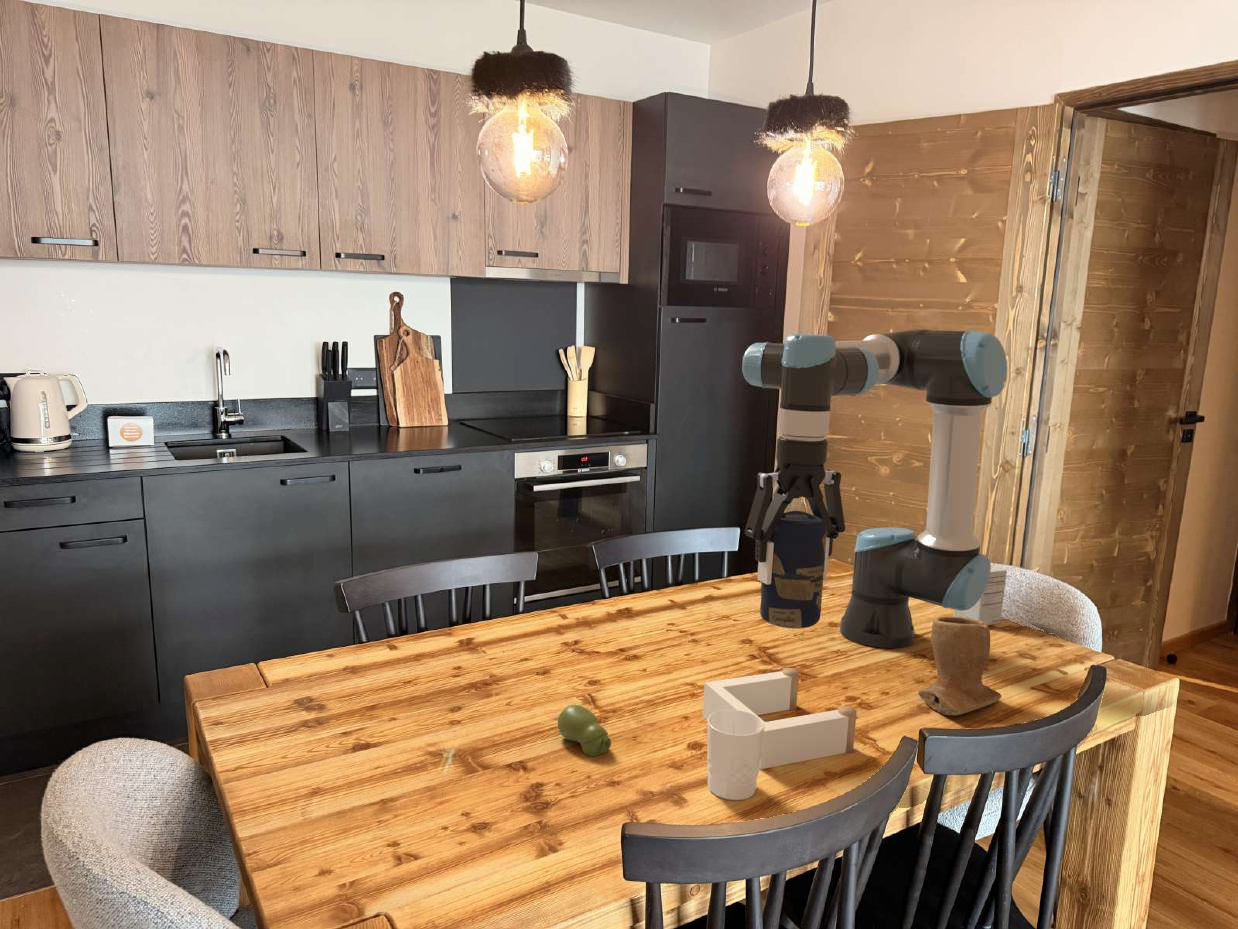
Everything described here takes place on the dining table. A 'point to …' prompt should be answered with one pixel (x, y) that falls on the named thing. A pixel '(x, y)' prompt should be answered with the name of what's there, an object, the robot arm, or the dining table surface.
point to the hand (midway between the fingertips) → (792, 579)
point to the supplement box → (988, 600)
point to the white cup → (733, 753)
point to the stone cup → (959, 666)
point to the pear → (584, 730)
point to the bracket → (786, 735)
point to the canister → (795, 572)
